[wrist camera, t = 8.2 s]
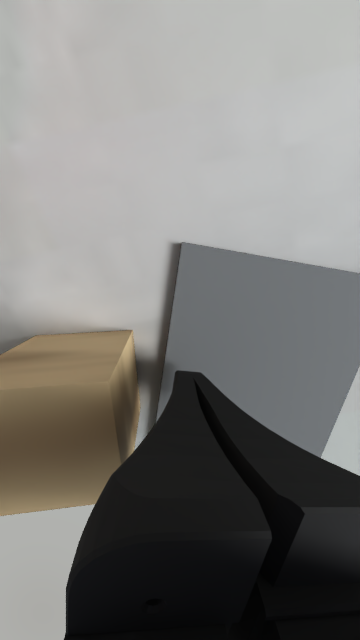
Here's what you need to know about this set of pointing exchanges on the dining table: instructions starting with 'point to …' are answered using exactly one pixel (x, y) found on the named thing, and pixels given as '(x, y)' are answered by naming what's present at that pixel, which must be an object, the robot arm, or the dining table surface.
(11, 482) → the oak block
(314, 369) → the mat
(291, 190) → the dining table surface
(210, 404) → the robot arm
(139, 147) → the dining table surface
